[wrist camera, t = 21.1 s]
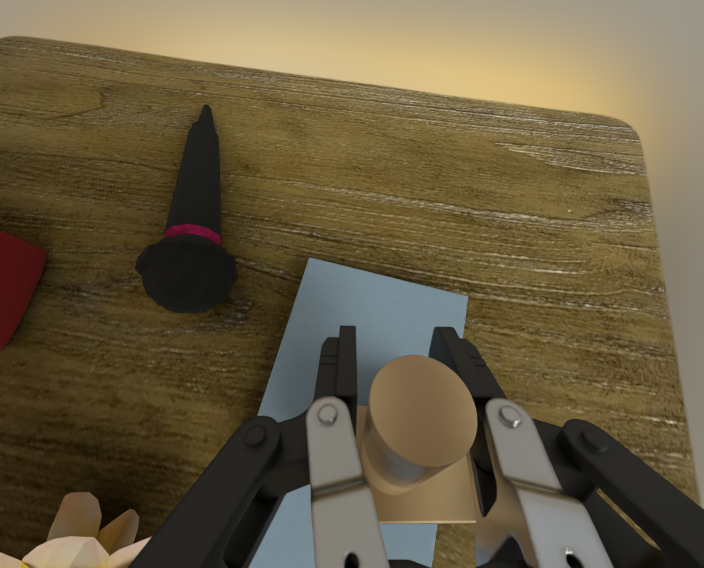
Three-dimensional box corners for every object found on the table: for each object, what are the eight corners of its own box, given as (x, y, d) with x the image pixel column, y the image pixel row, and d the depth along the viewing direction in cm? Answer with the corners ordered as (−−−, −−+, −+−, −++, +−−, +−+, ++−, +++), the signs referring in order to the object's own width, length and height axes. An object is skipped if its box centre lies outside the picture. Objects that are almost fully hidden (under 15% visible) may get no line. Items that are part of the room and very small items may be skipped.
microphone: (208, 144, 27) (193, 328, 19) (153, 89, 22) (102, 310, 14) (252, 123, 26) (255, 310, 18) (204, 59, 20) (179, 284, 13)
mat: (461, 299, 19) (468, 296, 18) (412, 641, 14) (418, 667, 13) (311, 262, 20) (309, 256, 19) (210, 573, 15) (198, 592, 14)
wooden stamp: (435, 425, 16) (515, 330, 8) (456, 523, 13) (615, 518, 5) (324, 425, 16) (300, 330, 8) (317, 524, 13) (270, 520, 5)
